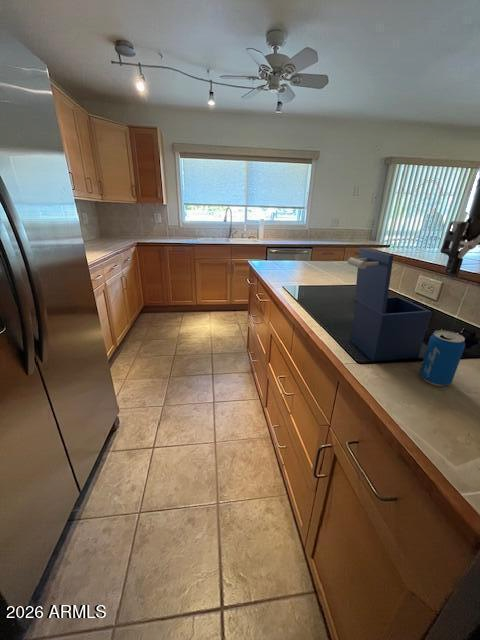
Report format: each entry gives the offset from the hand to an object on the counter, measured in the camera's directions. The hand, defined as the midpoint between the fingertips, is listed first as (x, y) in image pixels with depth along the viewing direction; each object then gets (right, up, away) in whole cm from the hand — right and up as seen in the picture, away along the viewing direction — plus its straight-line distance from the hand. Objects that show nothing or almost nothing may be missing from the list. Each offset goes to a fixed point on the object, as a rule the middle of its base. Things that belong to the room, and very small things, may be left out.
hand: (469, 275), depth 53 cm
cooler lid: (-12, +2, +15) cm, 19 cm away
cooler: (-5, -18, +25) cm, 31 cm away
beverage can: (+1, -24, +11) cm, 26 cm away
